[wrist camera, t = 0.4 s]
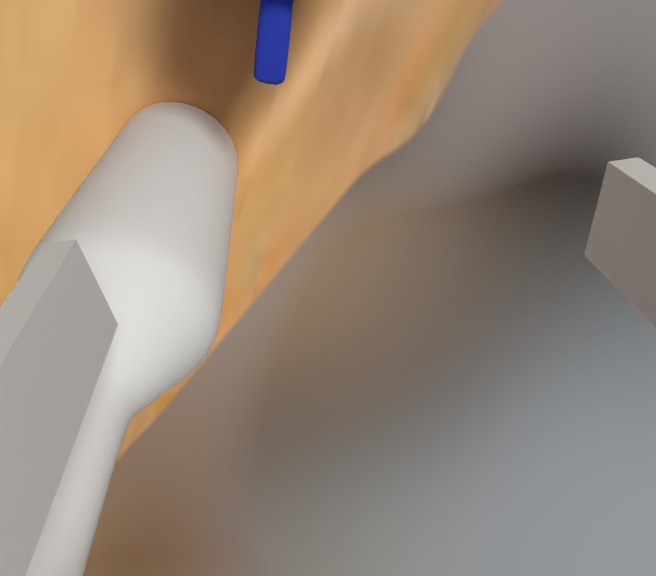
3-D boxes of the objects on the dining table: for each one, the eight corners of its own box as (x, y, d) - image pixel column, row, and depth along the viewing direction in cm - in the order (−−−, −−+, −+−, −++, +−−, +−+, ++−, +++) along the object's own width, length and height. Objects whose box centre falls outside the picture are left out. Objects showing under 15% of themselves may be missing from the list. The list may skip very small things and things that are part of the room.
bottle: (244, 208, 37) (207, 728, 13) (135, 214, 36) (-121, 774, 12) (230, 97, 32) (126, 597, 8) (104, 103, 31) (-424, 662, 7)
